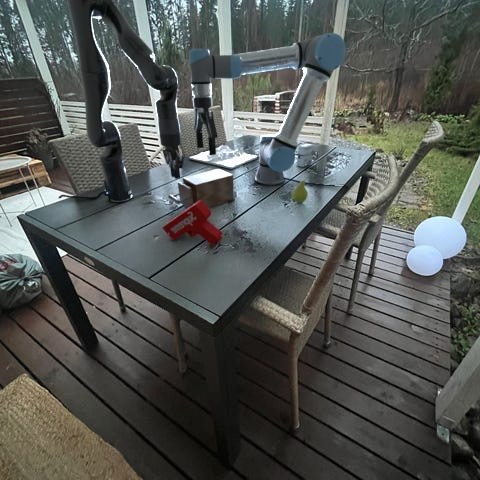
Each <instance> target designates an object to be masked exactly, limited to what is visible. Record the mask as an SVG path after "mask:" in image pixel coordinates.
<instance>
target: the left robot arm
mask: <svg viewBox="0 0 480 480" xmlns="http://www.w3.org/2000/svg"><path fill="white" fill-rule="evenodd" d="M66 1H67V6H68V10H69V14H70V19H71V24H72V28H73V33H74V37H75V43H76V49H77V56H78V62H79V71H80V77H81V78H80V79H81V84H82V89H83V98H84V107H85V108H84V109H85V127H86V135H87V138H88V140H89V142H90V144H91V145H92V146H93V147H94V148H97V149H101V148H104V150H103V152H102V153H101V154H99V156H98V160H99V164H100V168H101V170H102V171H101V172H102V173H103V178H104V180H103V185H104V188H105V189H104V190H103V191H101V192H99V193H98V194H97V195H96V196H85V195H83V196H82V195H81V196H78V195H67V194H60V195H59V196H58V199H62V198H68V199H87V200H97V199H99V198H100V197H101V196H102V195H104V197H107V198H108V201H109V202H112V203H117V204H119V203H124V202H125V203H126V202H128V201H130V200H131V199H133V194H132V189H131V186H130V183H129V182H130V181H129V179H128V174H127V170H126V166H125V162H124V150H123V144H122V139H121V134H120V131H119V129H118V126H117V125H116V124H115V123H114V122H113V121H111V120H103V111H104V107H105V105H106V102H107V99H108V97H109V94H110V92H111V91H110V90H111V76H110V69H109V64H108V62H107V59H106V57H105V55H104V53H103V52H102V50H101V48H100V46H99V45H98V42H97V40H96V37H95V32H94V27H93V19H100V20H101V21H103V22H104V23H105V24H106V25H107V26H108V27H109V28H110V29H111V30H112V32H113V33H114V36H115V37H116V40H117V43H118V45H119V47H120V49H121V50H122V52H123V53H124V55H125V56H126V57H128V59H129V60H130V61H131V62H132V63H133V64H134V65H135V67H137V69H138V71H139V73H140V75H141V77H142V78H143V80H144V81H145V83H146V84H147V85H148V87H150V88H151V89H152V90H154V91H156V92H160V96H159V98H158V99H156V101H155V112H156V118H157V128H158V135H159V141H160V145H161V146H162V147H164V149H162V151H161V152H162V154H163V157H164V160H165V164H166V165H167V166H168V167H169V169H170V175H171V177H172V178H174V179H176V180H178V179H181V171H180V169H183V168H184V167H183V166H184V161H185V156H184V154H181V151H180V147H179V146H181V145H182V135H181V129H180V128H181V127H180V121H179V116H178V115H179V114H178V109H177V108H178V107H177V100H178V91H179V81H178V76H177V73H176V71H175V70H174V68H173V67H172V66H170V65H158V64H157V63H156V62H155V60H156V56H155V54H154V52H153V50H152V49H151V48H150V47H149V45H148V44H147V43H146V42H145V41H144V40H143V39H142V38H141V37H140V35H139V34H138V33H137V32H136V31H135V30H134V29H133V27H132V26H131V25H130V23H129V22H128V21H127V19H126V17H124V15H123V14H122V12H121V11H120V9H119V8H118V7H117V5H116V4H115V2H114V1H113V0H66Z"/></svg>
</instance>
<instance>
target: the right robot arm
mask: <svg viewBox="0 0 480 480" xmlns="http://www.w3.org/2000/svg"><path fill="white" fill-rule="evenodd" d="M346 52H347V48H346V43H345V40H344V38H343V37H342V36H341V35H340V34H338V33H336V32H335V33H334V32H333V33H332V32H327V33H324V34H321V35H316V36H313V37H310V38H308V39H305V40H302V41H297V42H296V41H295V42H294V43H293V44H292V45H290V46H289V45H288V46H283V47H276V48H269V49H264V50H255V51H249V52H242V53H236V54H235V53H234V54H229V55H228V54H224V55H223V54H221V55H213V54H211V53H210V50H209V48H191V49H189V51H188V59H189V60H188V61H189V73H190V81H191V87H190V90H191V92H192V96H193V97H192V105H193V108H194V117H193V128H192V129H193V131H194V132H195V138H196V147H197V149H203V148H204V137H203V126H204V127H205V129H206V132H207V133H206V134H207V136H208V137H207V141H208V151H209V155H216V148H217V145H216V139H218V138H219V135H218V131H217V127H216V122H215V118H214V111H210V108H212V107H213V97H212V95H213V92H212V80H215V79H219V80H220V79H221V80H222V79H223V80H224V79H225V80H226V79H227V80H229V79H231V80H235V79H240V78H241V77H242V75H249V74H256V73H263V72H269V71H277V70H282V69H283V70H284V69H291V68H292V69H293V70H303V71H302V72H303V76H302V78H301V81H300V83H299V86H298V88H297V90H296V92H295V95H294V97H293V99H292V102H291V103H290V105H289V107H288V108H289V109H288V110H287V114H286V115H285V117H284V120H283V123H282V124H281V126H280V129H279V131H278V132H277V133H276V134H263V135H261V136H260V138H259V153H258V157H259V158H258V167H257V171H256V174H255V177H254V181H255V183H258V184H259V185H262V186H263V185H264V186H279V185H281V184H283V183H284V181H285V180H286V181H290V182H293V183H298V184H299V183H300V182H301V181H302V180H297V179H293V178H289V177H285V175H284V172H286V171H288V170H290V169H291V168H292V167H293V165H294V164H295V160H296V154H295V152H296V151H297V150H298V147H299V145H298V142H297V141H298V138H299V136H300V134H301V132H302V130H303V128H304V125H305V123H306V121H307V119H308V117H309V115H310V113H311V110H312V109H313V107H314V105H315V102H316V100H317V98H318V95H319V93H320V91H321V89H322V87H323V85H324V83H326V82H328V81H329V80H330V79H331V77H332V75H333V73H334V71H335V70H337V69H338V68H339V67H341V65H342V64H343V62H344V60H345V57H346V54H347V53H346ZM315 183H316V182H308V181H305V185H312V186H321V187H333V188H337V187H338V188H339V187H341V186H335V185H336V184H330V185H324V184H325V183H320V184H315ZM340 185H344V186H343V187H344V188H346V189H350V187H349V186H348V185H347V184H344V183H343V184H342V183H341V184H340Z"/></svg>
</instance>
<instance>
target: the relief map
mask: <svg viewBox="0 0 480 480" xmlns="http://www.w3.org/2000/svg"><path fill="white" fill-rule="evenodd" d="M256 159H258V155H256V154H249V153H246V152H245V151H244V149H242V148H238V149H235V150H233V149H231V148H230V147H229V146H228V145H227V144H225V145H224V144H221V145H220V146H219V147H216V155H209V150H208V151H204V152H202V151H201V152H200V153H198V154H196V155H192V156H189V160H193V161H196V162H201V163H204V164H209V165H214V166H217V167H222V168H226V169H230V170H233V169H235V168H237V167H240V166H241V165H244V164H247V163H250V162H252V161H254V160H256Z"/></svg>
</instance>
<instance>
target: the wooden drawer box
mask: <svg viewBox="0 0 480 480" xmlns="http://www.w3.org/2000/svg"><path fill="white" fill-rule="evenodd" d="M185 182H187V183H189V184H191V185H193V186H195V193H196V203H197V202H198V201H199V200H202V201H203V202H204V203H205V205H206V206H207V207H208V208H209V209H210V208H212V207H216V206H218V205H223V204H225V203H228V202H231V201H234V174H232V173H230V172H228V171H226V170H223V169H221V168H216V169H212V170H207V171H204V172H201V173H196V174H192V175H187V176H184V177H182V183H184V184H185Z"/></svg>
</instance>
